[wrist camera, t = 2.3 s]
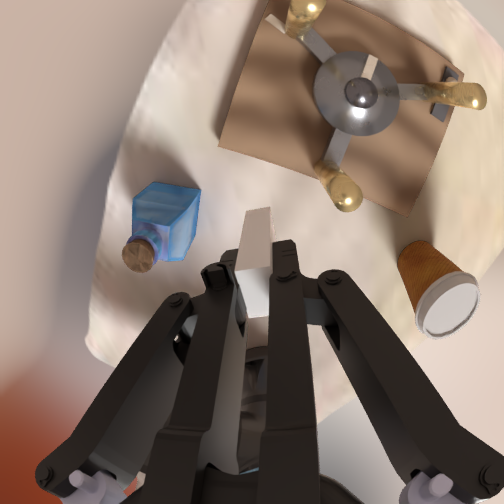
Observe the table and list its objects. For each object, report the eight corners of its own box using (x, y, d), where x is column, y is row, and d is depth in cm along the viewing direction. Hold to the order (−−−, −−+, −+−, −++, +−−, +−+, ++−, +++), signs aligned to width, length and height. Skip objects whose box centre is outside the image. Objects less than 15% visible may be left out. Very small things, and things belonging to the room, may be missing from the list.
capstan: (388, 206, 30) (424, 245, 22) (240, 151, 28) (228, 172, 20) (436, 89, 22) (489, 93, 14) (288, 16, 20) (297, -19, 12)
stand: (401, 211, 33) (413, 223, 30) (220, 143, 30) (214, 149, 27) (455, 74, 22) (472, 73, 19) (277, -15, 20) (278, -27, 17)
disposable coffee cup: (386, 291, 39) (413, 350, 29) (387, 236, 35) (425, 290, 24) (438, 278, 38) (472, 330, 27) (444, 225, 33) (490, 271, 23)
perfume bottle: (153, 181, 33) (106, 221, 22) (201, 189, 33) (170, 234, 23) (151, 226, 36) (110, 277, 25) (195, 235, 36) (167, 292, 26)
